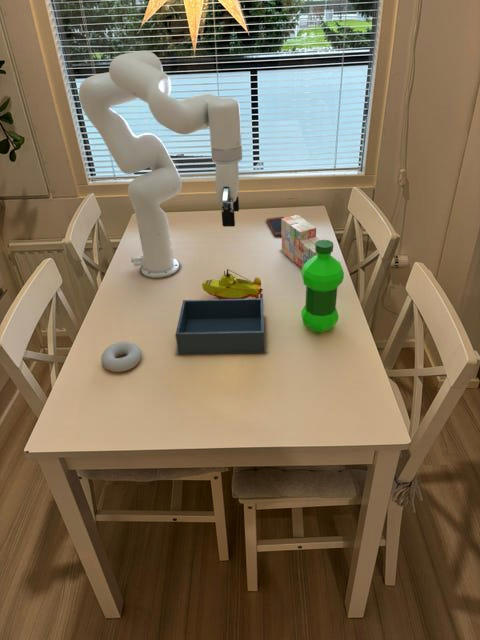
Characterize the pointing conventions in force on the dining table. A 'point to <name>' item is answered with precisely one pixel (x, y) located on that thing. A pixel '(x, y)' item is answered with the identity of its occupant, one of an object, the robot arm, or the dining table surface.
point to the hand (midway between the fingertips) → (231, 218)
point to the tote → (221, 326)
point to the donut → (121, 363)
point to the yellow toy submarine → (233, 287)
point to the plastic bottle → (321, 288)
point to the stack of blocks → (298, 239)
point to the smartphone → (275, 225)
